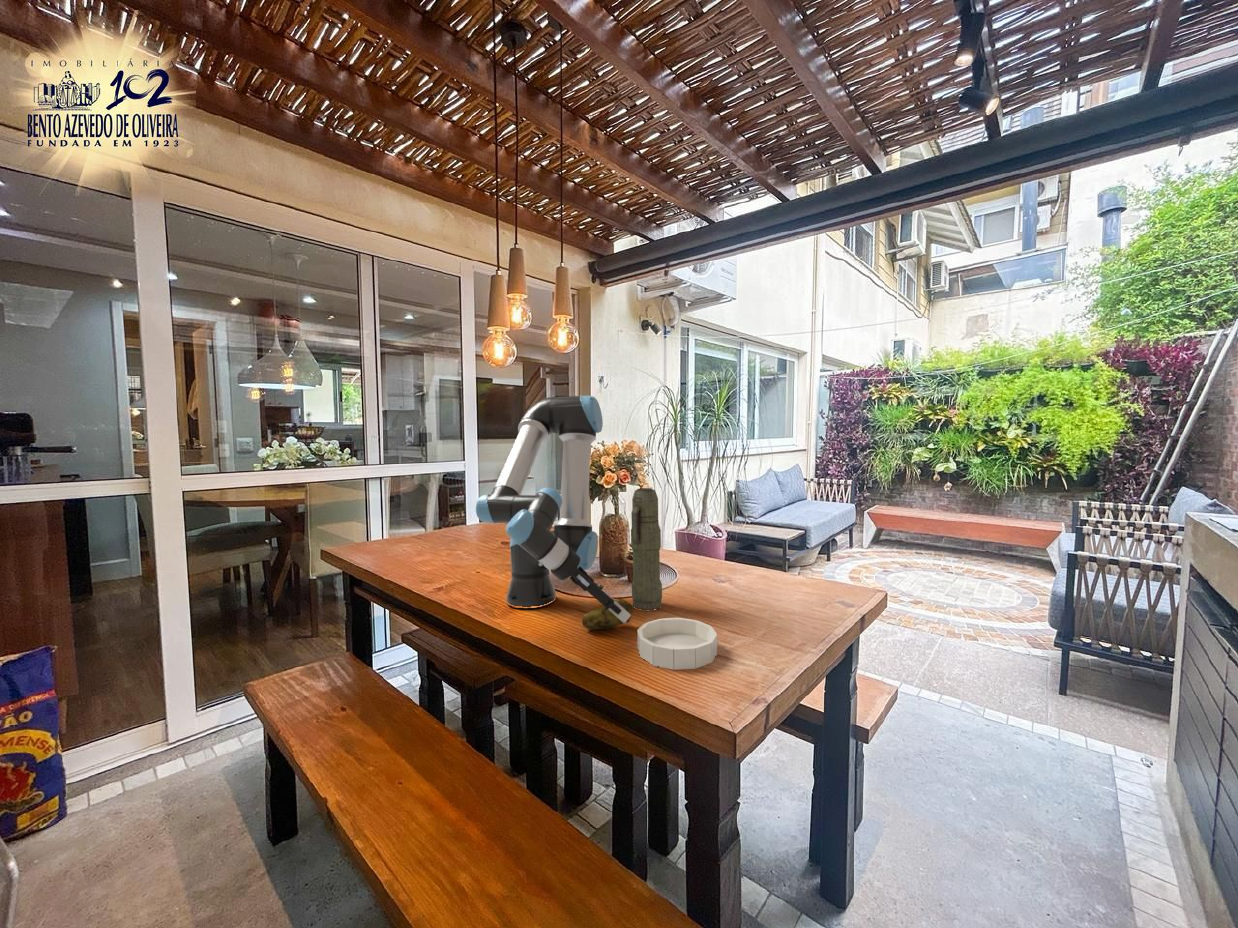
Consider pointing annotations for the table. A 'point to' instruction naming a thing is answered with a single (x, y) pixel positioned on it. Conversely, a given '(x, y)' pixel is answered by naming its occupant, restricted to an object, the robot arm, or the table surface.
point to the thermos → (646, 550)
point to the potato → (605, 617)
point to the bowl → (677, 643)
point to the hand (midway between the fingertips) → (621, 613)
